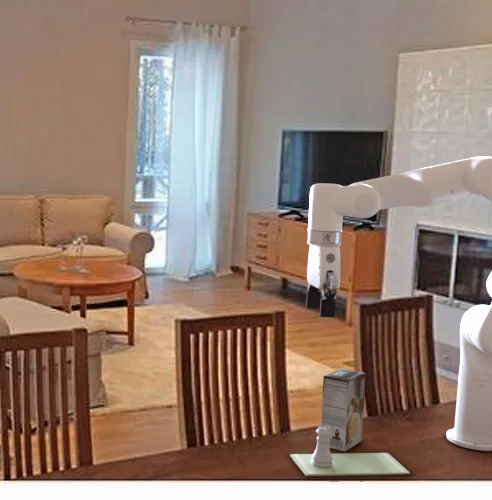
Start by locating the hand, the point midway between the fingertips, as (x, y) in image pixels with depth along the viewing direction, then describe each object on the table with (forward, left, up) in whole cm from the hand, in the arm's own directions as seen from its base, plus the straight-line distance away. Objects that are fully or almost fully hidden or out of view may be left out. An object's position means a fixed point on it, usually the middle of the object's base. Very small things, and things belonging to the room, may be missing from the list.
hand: (319, 312), depth 193 cm
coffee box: (-4, +8, -28) cm, 30 cm away
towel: (-1, +21, -28) cm, 35 cm away
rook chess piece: (+5, +21, -28) cm, 35 cm away
